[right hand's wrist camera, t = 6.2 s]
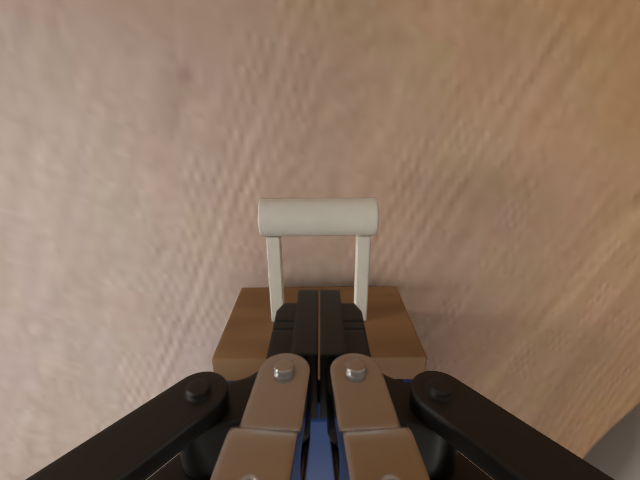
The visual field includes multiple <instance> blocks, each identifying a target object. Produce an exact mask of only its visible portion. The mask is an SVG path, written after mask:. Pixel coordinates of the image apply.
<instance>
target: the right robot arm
mask: <svg viewBox="0 0 640 480" xmlns="http://www.w3.org/2000/svg"><path fill="white" fill-rule="evenodd" d="M311 418H318V290H299V291H298V299H297V303H284V304H283V305H282V306H281V307H280V308H279V309H278V310H277V311H276V316H275V322H274V325H273V330H272V334H271V339H270V343H269V348H268V353H267V357H266V360H265V361H264V362H263V363H262V364H261V366H260V368H259V371H257V372H256V373H255V374H253V375H251V376H249V377H247V378H244V379H241V380H237V381H233V382H229V383H227V382H226V380H225V378H224V377H223V376H222V375H220V374H218V373H214V372H200V373H196V374H193V375H190V376H188V377H186V378H184V379H183V380H181V381H180V382H178V383H177V384H175V385H173V386H172V387H170V388H169V389H167V390H166V391H164V392H162V393H161V394H159V395H158V396H156V397H155V398H153V399H151V400H150V401H148V402H147V403H145V404H144V405H142V406H140V407H139V408H137V409H136V410H134V411H133V412H131V413H129V414H128V415H126V416H125V417H123V418H122V419H120V420H118V421H117V422H115V423H114V424H112V425H111V426H109V427H108V428H106V429H104V430H103V431H101V432H100V433H98V434H97V435H95V436H93V437H92V438H90V439H89V440H87V441H86V442H84V443H82V444H81V445H79V446H78V447H76V448H75V449H73V450H71V451H70V452H68V453H67V454H65V455H64V456H62V457H60V458H59V459H57V460H56V461H54V462H53V463H51V464H49V465H48V466H46V467H45V468H43V469H42V470H40V471H38V472H37V473H35V474H34V475H32V476H31V477H29V478H28V479H26V480H146V479H147V478H148V479H147V480H307V474H308V465H309V455H310V446H311ZM320 418H327V433H328V436H329V446H330V455H331V465H332V474H333V480H493V479H494V480H614V479H612V478H611V477H609V476H608V475H606V474H605V473H603V472H601V471H600V470H598V469H597V468H595V467H594V466H592V465H590V464H589V463H587V462H586V461H584V460H583V459H581V458H580V457H578V456H576V455H575V454H573V453H572V452H570V451H569V450H567V449H565V448H564V447H562V446H561V445H559V444H558V443H556V442H554V441H553V440H551V439H550V438H548V437H547V436H545V435H543V434H542V433H540V432H539V431H537V430H536V429H534V428H532V427H531V426H529V425H528V424H526V423H525V422H523V421H522V420H520V419H518V418H517V417H515V416H514V415H512V414H511V413H509V412H507V411H506V410H504V409H503V408H501V407H500V406H498V405H496V404H495V403H493V402H492V401H490V400H489V399H487V398H485V397H484V396H482V395H481V394H479V393H478V392H476V391H474V390H473V389H471V388H470V387H468V386H467V385H465V384H463V383H462V382H460V381H459V380H457V379H456V378H454V377H452V376H450V375H448V374H445V373H442V372H438V371H425V372H422V373H419V374H418V375H416V376H415V377H414V379H413V380H412V383H408V382H404V381H400V380H396V379H393V378H390V377H388V376H386V375H384V374H383V373H382V371H381V368H380V366H379V364H378V363H377V362H376V361H375V360H374V359H372V358H371V353H370V349H369V344H368V339H367V334H366V330H365V325H364V320H363V315H362V311H361V310H360V309H359V308H358V307H357V306H356V305H355V303H341V298H340V290H320ZM458 451H459V452H460V453H459V452H458ZM178 453H179V454H178ZM461 453H462V454H463V455H464V456H465V457H464V456H463V455H462V454H461ZM177 454H178V455H177ZM176 455H177V456H176ZM175 456H176V457H175ZM173 457H174V458H173ZM466 457H467V458H468V459H469V460H470V461H469V460H468V459H467V458H466ZM172 458H173V459H172ZM171 459H172V460H171ZM170 460H171V461H170ZM168 461H169V462H168ZM471 461H472V462H473V463H474V464H475V465H474V464H473V463H472V462H471ZM167 462H168V463H167ZM166 463H167V464H166ZM165 464H166V465H165ZM163 465H164V466H163ZM476 465H477V466H478V467H479V468H480V469H482V470H483V471H484V472H485V473H486V474H485V473H484V472H483V471H482V470H480V469H479V468H478V467H477V466H476ZM162 466H163V467H162ZM161 467H162V468H161ZM160 468H161V469H160ZM158 469H160V470H158ZM157 470H158V471H157ZM156 471H157V472H156ZM155 472H156V473H155ZM154 473H155V474H154ZM152 474H153V475H152ZM487 474H488V475H489V476H490V477H491V478H490V477H489V476H488V475H487ZM151 475H152V476H151ZM150 476H151V477H150ZM149 477H150V478H149ZM492 478H493V479H492Z"/></svg>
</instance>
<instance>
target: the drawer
mask: <svg viewBox="0 0 640 480" xmlns="http://www.w3.org/2000/svg"><path fill="white" fill-rule="evenodd" d="M378 220H379V212H378V203H377V200H376V198H270V199H260V201H259V205H258V227H259V232H260V235H261V236H267V237H266V246H267V260H268V274H269V288H242V289H241V292H240V294H239V296H238V299H237V301H236V303H235V306H234V308H233V311H232V313H231V315H230V318H229V320H228V322H227V325H226V327H225V329H224V332H223V334H222V336H221V339H220V341H219V344H218V346H217V348H216V351H215V353H214V355H213V358H212V363H213V370H214V373H218V374H220V375H222V376H223V377H224V378H225V380H226V381H237V380H241V379H244V378H247V377H249V376H251V375H253V374H255V373H256V372H257V371H259V368H260V366H261V364H262V363H263V362H264V361H265V360H266V357H267V353H268V348H269V343H270V339H271V334H272V330H273V325H274V322H275V316H276V311H277V310H278V309H279V308H280V307H281V306H282V305H283V304H284V303H297V299H298V291H299V290H318V403H320V290H340V298H341V303H355V305H356V306H357V307H358V308H359V309H360V310H361V311H362V315H363V320H364V325H365V330H366V334H367V339H368V344H369V349H370V353H371V358H372V359H374V360H375V361H376V362H377V363H378V364H379V366H380V368H381V371H382V373H383V374H384V375H386V376H388V377H390V378H393V379H414V377H415V376H416V375H418V374H419V373H422V372H425V367H426V360H427V356H426V354H425V352H424V350H423V347H422V345H421V343H420V340H419V338H418V336H417V334H416V331H415V329H414V327H413V324H412V322H411V320H410V318H409V315H408V313H407V311H406V308H405V306H404V304H403V301H402V299H401V297H400V295H399V292H398V290H397V288H396V287H368V283H369V263H370V243H371V237H370V235H376V233H377V230H378ZM281 236H356V251H355V281H354V287H284V285H283V266H282V247H281Z"/></svg>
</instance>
